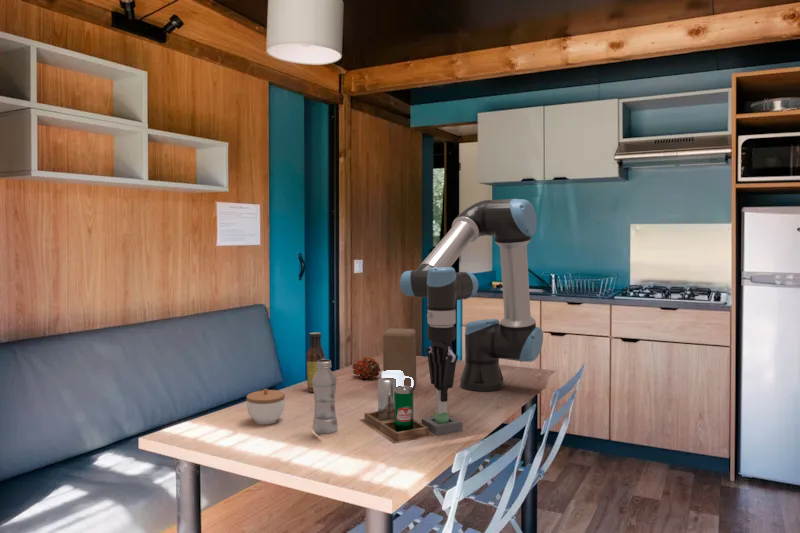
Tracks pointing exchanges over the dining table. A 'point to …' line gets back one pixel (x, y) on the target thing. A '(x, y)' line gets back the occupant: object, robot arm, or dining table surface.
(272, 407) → the lidded jar
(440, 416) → the button
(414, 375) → the block
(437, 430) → the grey square holder
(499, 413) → the dining table surface
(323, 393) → the plastic bottle
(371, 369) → the reddish brown bumpy oval
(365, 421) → the tray
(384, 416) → the seated cylinder
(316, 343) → the sauce bottle
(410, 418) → the soda can
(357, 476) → the dining table surface
